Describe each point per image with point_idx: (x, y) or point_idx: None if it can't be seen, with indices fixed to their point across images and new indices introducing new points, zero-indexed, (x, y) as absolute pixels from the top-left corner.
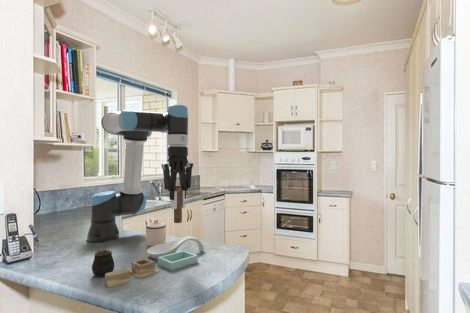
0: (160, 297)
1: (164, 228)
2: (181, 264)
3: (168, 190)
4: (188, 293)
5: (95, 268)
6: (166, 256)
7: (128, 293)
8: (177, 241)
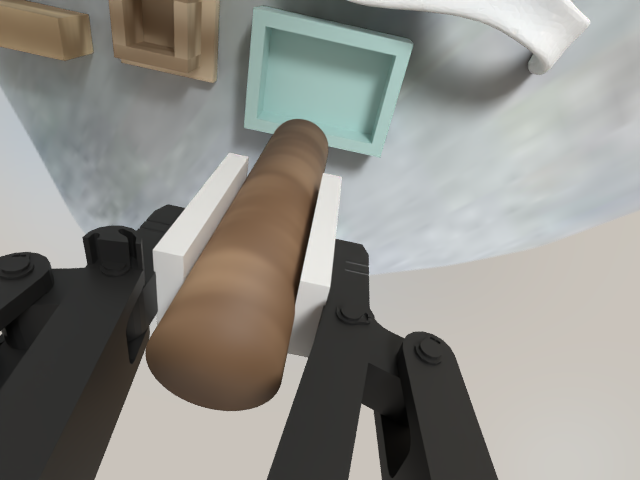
0: (124, 213)
1: None
2: None
3: (105, 240)
4: None
5: None
6: (294, 32)
7: (61, 121)
8: None
